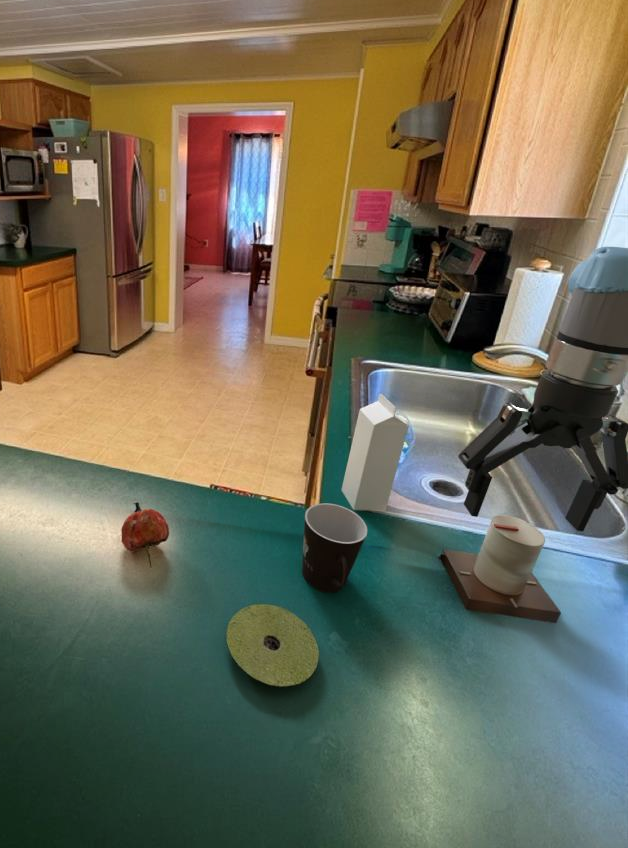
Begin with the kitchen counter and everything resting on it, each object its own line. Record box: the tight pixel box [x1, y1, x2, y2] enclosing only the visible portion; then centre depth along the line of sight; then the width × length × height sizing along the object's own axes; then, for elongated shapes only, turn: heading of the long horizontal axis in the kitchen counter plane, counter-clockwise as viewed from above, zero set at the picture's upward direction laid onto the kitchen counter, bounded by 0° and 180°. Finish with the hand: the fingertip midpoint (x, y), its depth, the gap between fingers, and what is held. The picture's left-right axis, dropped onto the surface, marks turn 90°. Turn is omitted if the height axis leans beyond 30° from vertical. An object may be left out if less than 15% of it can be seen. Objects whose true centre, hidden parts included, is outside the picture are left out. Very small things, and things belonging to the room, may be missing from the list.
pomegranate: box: [120, 501, 170, 568], centre depth 73 cm, size 7×7×10 cm
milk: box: [341, 393, 410, 512], centre depth 83 cm, size 6×6×22 cm
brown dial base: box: [439, 548, 562, 624], centre depth 70 cm, size 12×11×2 cm
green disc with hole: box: [226, 603, 320, 687], centre depth 58 cm, size 11×11×2 cm
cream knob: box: [473, 514, 546, 595], centre depth 68 cm, size 6×6×9 cm
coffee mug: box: [301, 502, 368, 593], centre depth 68 cm, size 12×9×10 cm
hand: (521, 517), depth 66 cm, fingers open, 13 cm apart
